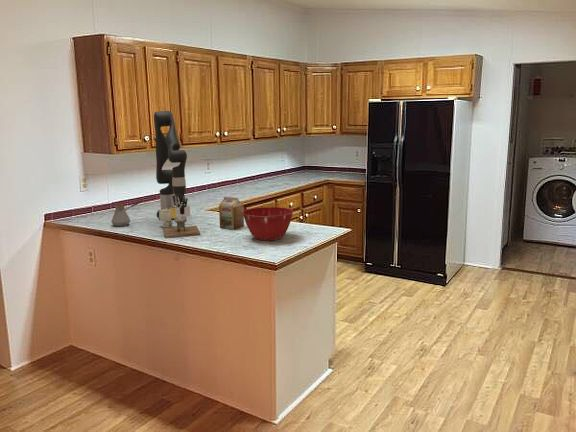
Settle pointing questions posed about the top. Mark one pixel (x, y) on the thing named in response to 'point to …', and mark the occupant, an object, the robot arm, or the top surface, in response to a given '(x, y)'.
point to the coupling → (179, 214)
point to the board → (177, 233)
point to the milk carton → (231, 213)
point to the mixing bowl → (268, 222)
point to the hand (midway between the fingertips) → (180, 213)
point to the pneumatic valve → (165, 217)
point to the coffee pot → (122, 215)
